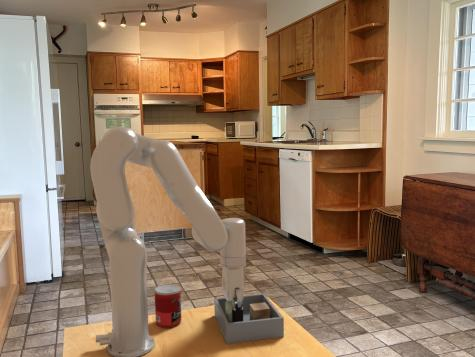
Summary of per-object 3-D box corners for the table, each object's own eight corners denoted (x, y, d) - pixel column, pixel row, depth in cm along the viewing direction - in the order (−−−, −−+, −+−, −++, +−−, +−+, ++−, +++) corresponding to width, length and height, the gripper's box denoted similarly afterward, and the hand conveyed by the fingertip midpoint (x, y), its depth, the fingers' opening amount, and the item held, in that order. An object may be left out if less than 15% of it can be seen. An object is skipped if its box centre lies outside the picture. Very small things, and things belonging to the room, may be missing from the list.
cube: (254, 326, 130) (253, 310, 129) (249, 319, 135) (249, 304, 134) (270, 324, 131) (270, 308, 130) (265, 317, 136) (265, 302, 135)
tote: (226, 343, 121) (226, 324, 120) (214, 315, 140) (214, 298, 139) (283, 336, 124) (283, 317, 124) (264, 309, 143) (264, 293, 143)
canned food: (176, 329, 130) (175, 293, 129) (151, 327, 132) (150, 292, 131) (185, 318, 138) (183, 284, 136) (161, 316, 139) (159, 283, 138)
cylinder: (227, 329, 128) (227, 306, 127) (224, 322, 133) (224, 300, 132) (244, 327, 129) (243, 304, 128) (240, 320, 134) (240, 298, 133)
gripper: (215, 253, 136) (216, 306, 138) (226, 270, 120) (227, 329, 121) (238, 251, 138) (239, 303, 140) (252, 267, 121) (253, 326, 123)
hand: (234, 315), depth 131 cm, fingers open, 9 cm apart
